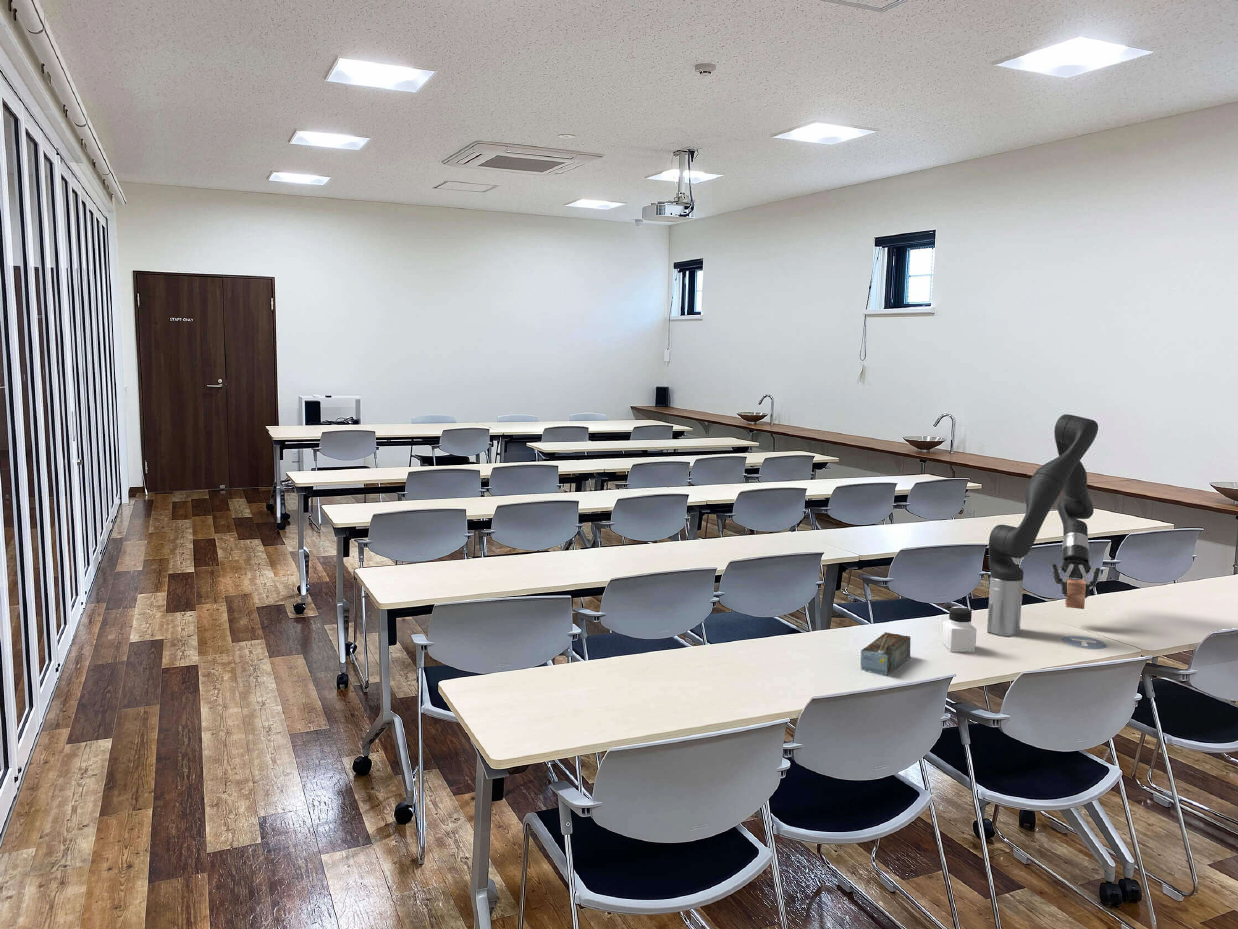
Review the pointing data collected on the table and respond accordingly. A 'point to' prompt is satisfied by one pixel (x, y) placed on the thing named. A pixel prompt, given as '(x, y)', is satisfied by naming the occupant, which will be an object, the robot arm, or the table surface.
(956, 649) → the medicine bottle
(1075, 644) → the letter mat
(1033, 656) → the table surface
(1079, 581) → the terracotta block
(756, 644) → the table surface
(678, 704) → the table surface
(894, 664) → the grey boxy piece
